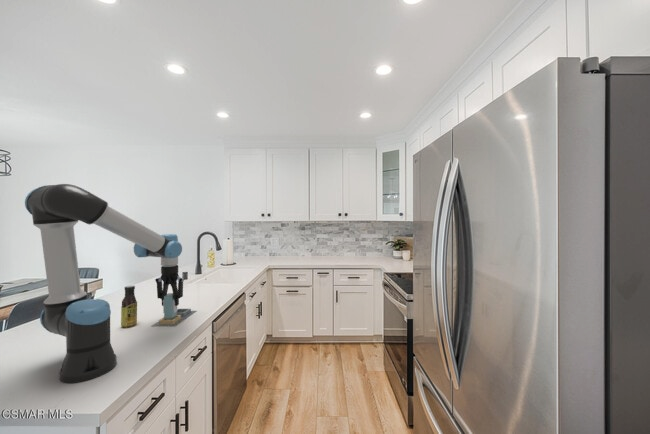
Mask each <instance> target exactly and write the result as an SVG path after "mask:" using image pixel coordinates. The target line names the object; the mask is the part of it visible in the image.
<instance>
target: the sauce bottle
mask: <svg viewBox="0 0 650 434" xmlns="http://www.w3.org/2000/svg"><path fill="white" fill-rule="evenodd" d="M135 289H136V286H135V285H127V286H124V297H123V299H122V300H121V307H120V308H121V309H120V310H121V311H120V313H121V314H120V315H121V317H120V318H121V319H120V326H121V327H120V328H121V329H131V328H133V327H135V326H137V324H138V301H137V299H136V296H135Z"/></svg>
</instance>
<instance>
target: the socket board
mask: <svg viewBox="0 0 650 434" xmlns="http://www.w3.org/2000/svg"><path fill="white" fill-rule="evenodd" d="M196 312H198V310H192V308H177V316H176V317H174V318H173V319H164V316H163V317H162V318H160V319H159V320H158V321H157V322H155V323H154V324H152V325H150V327H152V328H153V327H159V328H160V327H163V328H164V327H167V328H169V327H177V326H178V325H180V324H181V323H183V322H184V321H185V320H187V319H188V318H190V317H191V316H192V315H194V314H196Z"/></svg>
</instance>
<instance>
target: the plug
mask: <svg viewBox="0 0 650 434" xmlns="http://www.w3.org/2000/svg"><path fill="white" fill-rule="evenodd" d="M173 300H174V295H173V292H172V293H171V292H167V295H166V296H164V313H163V317H164V319H173V318H174V317H176V316H177V312H175V313H173Z"/></svg>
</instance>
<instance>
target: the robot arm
mask: <svg viewBox="0 0 650 434" xmlns="http://www.w3.org/2000/svg"><path fill="white" fill-rule="evenodd" d="M24 207H25V209H26V210H27V212H28V213H29V215H31V217H32V222H33V223H32V224H33V226H35V227H36V228H38V229H39V230H40V237H41V244H42V252H43V253H42V254H43V258H44V259H43V260H44V267H45V275H46V284H47V291H48V297H47V298H45V300H43V309H42V311H41V313H40V317H39V318H40V319H39V321H40V324H41V326H42V327H43V328H44V329H45V330H46V331H48V332H49V333H52V334H54V335H59V336H61V337H62V336H63V337H65V340H66V341H65V343H66V346H65V347H66V354H65V357H64V358H63V362H62V364H61V367H60V370H59V372H58V373H59V374H58V378H59V381H60V382H62V383H66V384H67V383H68V384H69V383H70V384H72V383H79V382H85V381H89V380H92V379H95V378H98V377H100V376H103V375H105V374H107V373H108V372H110V371H111V370H113V369H114V368H115V367H116V365H117V362H118V361H117V358H118V357H117V355H116V354H115V350H114V348H113V346H112V343H111V306H110V303H109V302H108V301H106V300H105V299H99V298H96V299H94V298H89V299H88V293H87V292H86V291H84V290H82V289H81V288H82V287H81V280H80V271H79V262H78V253H77V246H76V238H75V237H76V236H75V228H74V227H75V225H76V224H78V223H79V221H80V222H82V223H85V224H87V225H96V226H98V227H100V228H102V229H104V230H106V231H109V232H110V233H112V234H115V235H116V236H118V237H121V238H123V239H125V240H127V241H129V242H131V243H133V244H134V245H133V253H134V255H135V256H136V257H137V258H147V257H153V258H160V266H161V267H160V273H161V275H160V276H159V277H158V278H157V277H156V278H155V282H156V293H157V299H161V306H162V308H163V309H162V310H163V311H162V313H163V314H164V296H166V295H167V294H168V292H169V290H168V289H169V286H170V287H171V290H172V293H173V295H174V300H173V313H175V312H177V309H178V306H179V305H180V298H183V297H184V281H185V277H184V276H183V277H181V276H180V275H179V257H180V256H181V254H182V252H183V246H182V244H181V243H180V241H179V239H178V235H177V234H173V233H166V234H161V235H160V234H159V233H157V232H155V231H154V230H152V229H150V228H148V227H147V226H144V225H143V224H141V223H140V222H138V221H136V220H134V219H132V218H130V217H128V216H127V215H125V214H123V213H121V212H119V211H118V210H116V209H115V208H112V207H110V206H109V202H108V201H106V200H104V199H102V198H101V197H99V196H98V195H95V194H94V193H91V192H90V191H88V190H86V189H84V188H82V187H79V186H77V185H73V184H70V183H60V184H59V183H58V184H49V185H48V184H47V185H42V186H39V187H37V188H34V189H32V190H31V191H30V192H28V194H27V196H25V199H24Z"/></svg>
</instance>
